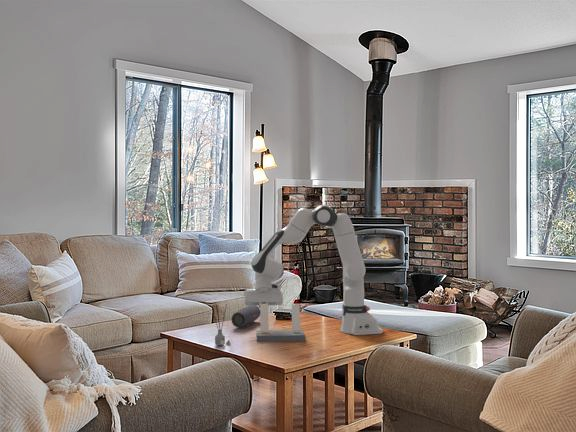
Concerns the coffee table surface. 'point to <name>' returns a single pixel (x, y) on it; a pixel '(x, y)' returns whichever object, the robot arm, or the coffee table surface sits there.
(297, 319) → the lever
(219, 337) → the reed diffuser
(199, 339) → the coffee table surface
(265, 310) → the lever
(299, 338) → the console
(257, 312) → the bluetooth speaker
